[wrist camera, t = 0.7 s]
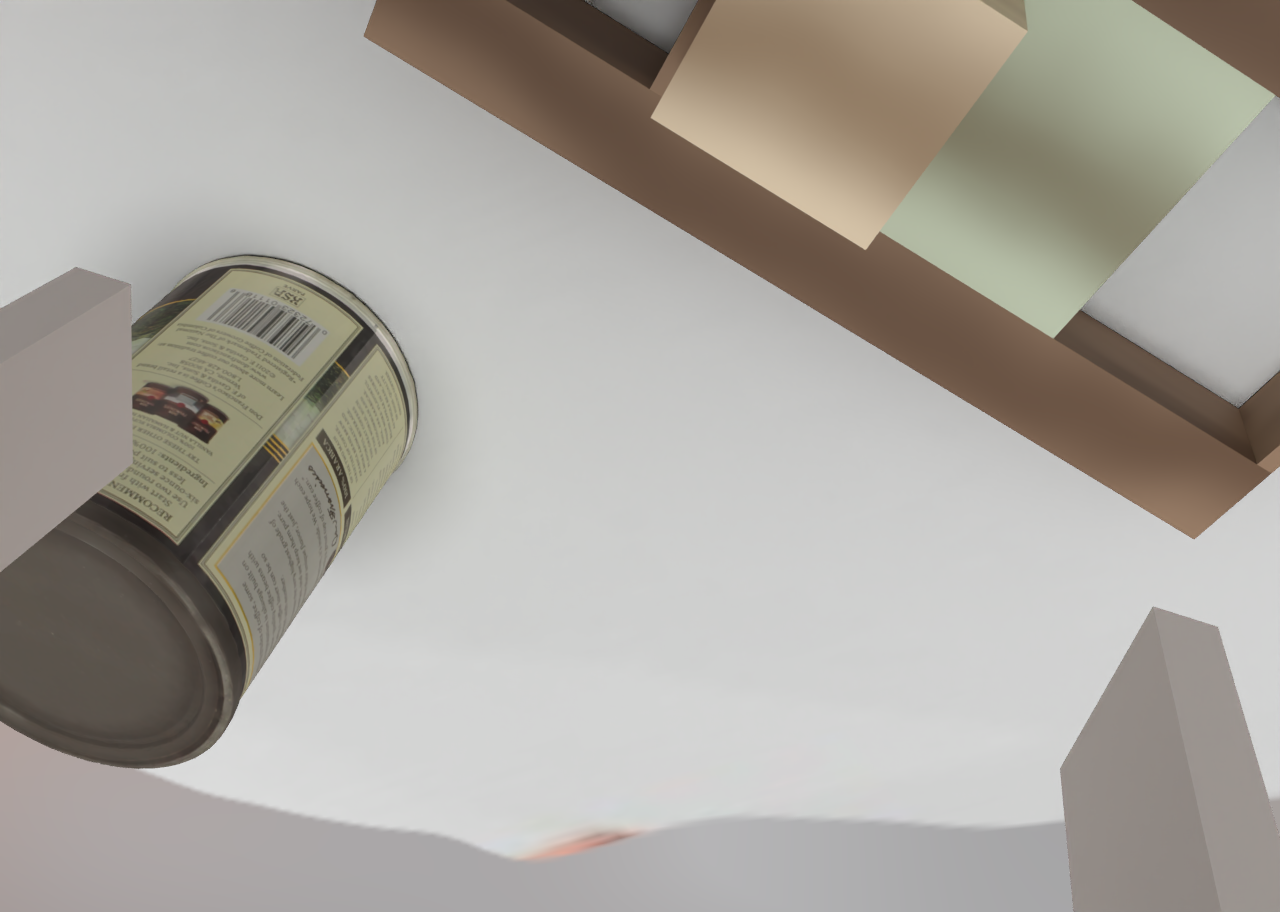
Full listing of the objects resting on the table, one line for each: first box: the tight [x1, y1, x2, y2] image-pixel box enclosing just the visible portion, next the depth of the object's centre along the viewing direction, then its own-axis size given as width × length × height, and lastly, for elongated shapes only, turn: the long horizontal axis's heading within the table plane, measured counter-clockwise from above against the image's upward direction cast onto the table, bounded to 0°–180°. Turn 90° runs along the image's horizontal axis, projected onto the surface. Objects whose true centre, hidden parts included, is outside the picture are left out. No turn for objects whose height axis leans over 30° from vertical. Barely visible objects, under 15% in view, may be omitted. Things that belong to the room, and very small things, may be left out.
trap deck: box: [364, 0, 1280, 539], centre depth 31 cm, size 14×28×3 cm, turn 62°
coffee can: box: [0, 256, 417, 769], centre depth 39 cm, size 10×10×14 cm
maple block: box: [651, 0, 1028, 250], centre depth 28 cm, size 6×6×4 cm
